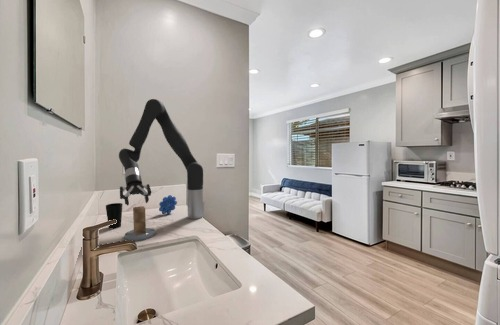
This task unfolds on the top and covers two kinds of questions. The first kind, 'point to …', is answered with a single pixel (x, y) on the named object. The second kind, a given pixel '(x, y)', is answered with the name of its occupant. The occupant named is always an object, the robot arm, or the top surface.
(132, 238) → the slate dish
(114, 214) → the cup
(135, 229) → the walnut block
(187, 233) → the top surface
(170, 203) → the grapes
